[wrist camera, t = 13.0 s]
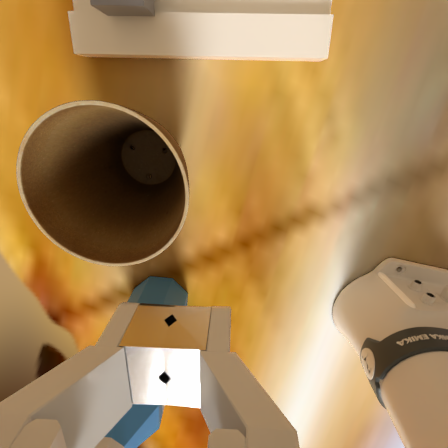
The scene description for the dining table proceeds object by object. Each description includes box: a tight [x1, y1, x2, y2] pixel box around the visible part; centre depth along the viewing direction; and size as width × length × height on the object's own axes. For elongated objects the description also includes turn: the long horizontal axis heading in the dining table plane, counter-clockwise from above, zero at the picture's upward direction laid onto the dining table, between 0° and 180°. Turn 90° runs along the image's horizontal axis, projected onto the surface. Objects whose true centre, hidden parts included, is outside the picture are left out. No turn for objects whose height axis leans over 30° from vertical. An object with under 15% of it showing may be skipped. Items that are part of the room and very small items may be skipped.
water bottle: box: [94, 276, 188, 448], centre depth 38 cm, size 9×9×25 cm
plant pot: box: [16, 100, 189, 266], centre depth 34 cm, size 15×15×16 cm
